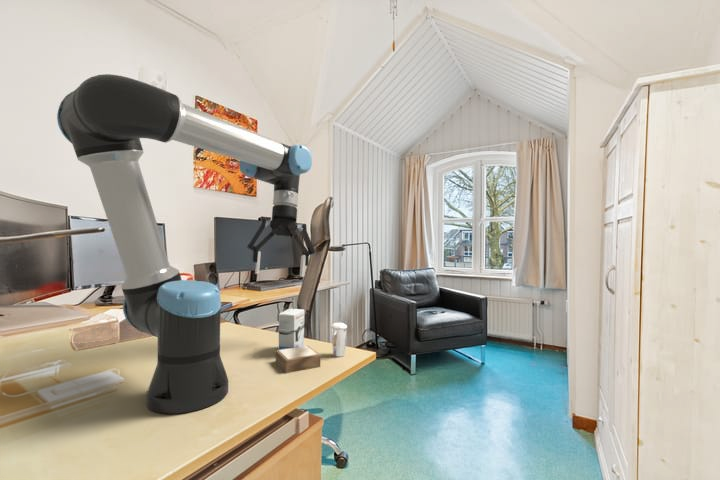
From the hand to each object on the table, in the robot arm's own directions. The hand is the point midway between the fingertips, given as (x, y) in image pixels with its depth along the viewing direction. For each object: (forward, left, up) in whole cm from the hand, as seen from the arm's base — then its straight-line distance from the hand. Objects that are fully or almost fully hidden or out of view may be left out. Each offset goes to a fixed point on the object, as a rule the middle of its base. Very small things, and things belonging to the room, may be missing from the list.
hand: (280, 275), depth 105 cm
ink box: (+2, -5, -22) cm, 23 cm away
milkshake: (+13, -15, -22) cm, 30 cm away
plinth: (0, -16, -22) cm, 27 cm away
